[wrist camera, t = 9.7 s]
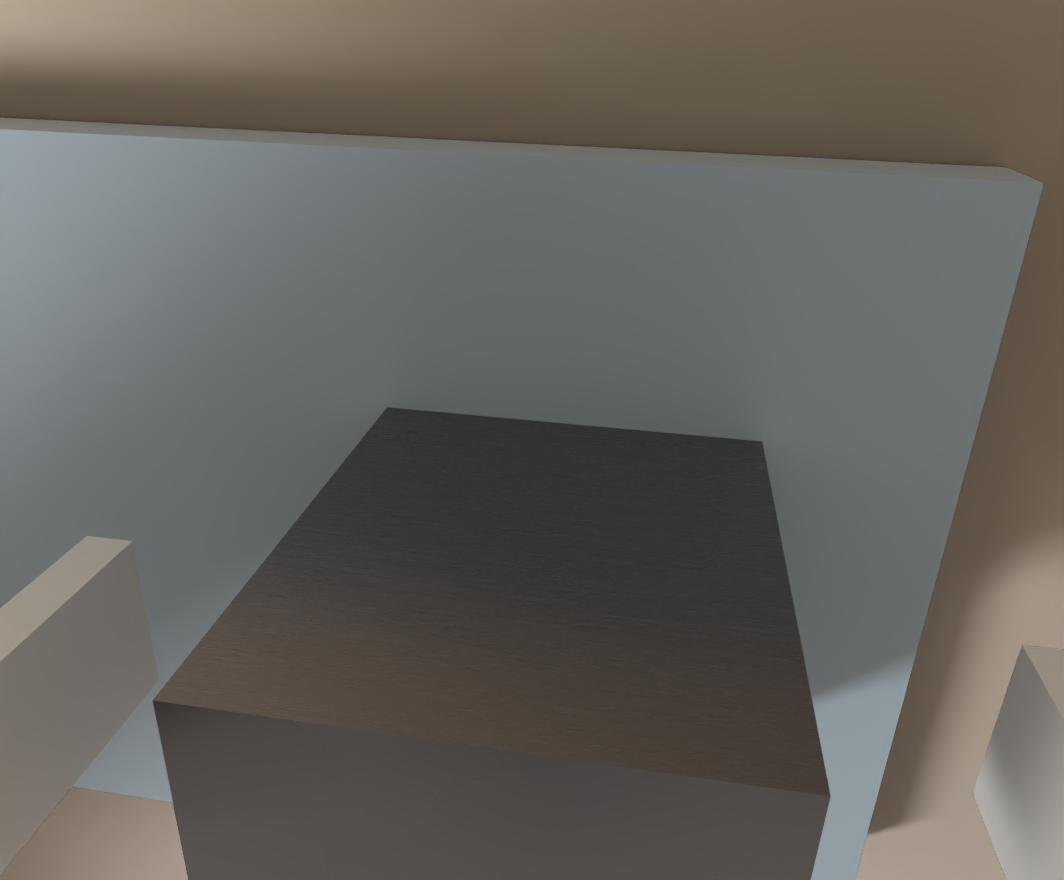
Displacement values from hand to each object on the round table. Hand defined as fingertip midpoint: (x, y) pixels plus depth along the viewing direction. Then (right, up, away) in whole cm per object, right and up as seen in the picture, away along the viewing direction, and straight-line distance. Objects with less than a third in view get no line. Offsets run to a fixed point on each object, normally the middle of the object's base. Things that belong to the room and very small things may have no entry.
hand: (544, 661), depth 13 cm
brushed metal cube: (0, +1, +2) cm, 2 cm away
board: (-2, +2, +4) cm, 5 cm away
